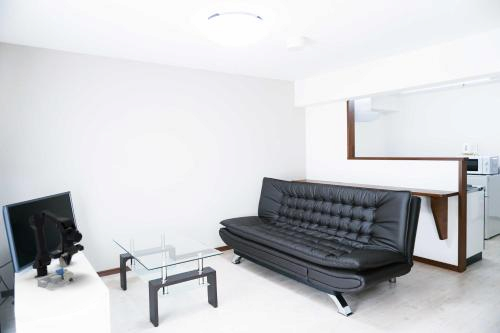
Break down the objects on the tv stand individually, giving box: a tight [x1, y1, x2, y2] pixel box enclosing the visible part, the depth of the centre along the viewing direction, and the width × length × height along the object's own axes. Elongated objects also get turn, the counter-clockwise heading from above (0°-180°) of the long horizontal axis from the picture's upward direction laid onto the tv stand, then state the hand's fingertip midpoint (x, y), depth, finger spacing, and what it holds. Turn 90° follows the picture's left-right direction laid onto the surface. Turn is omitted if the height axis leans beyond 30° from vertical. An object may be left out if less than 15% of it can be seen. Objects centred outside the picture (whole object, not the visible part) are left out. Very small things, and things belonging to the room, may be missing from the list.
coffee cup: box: [56, 243, 73, 268], centre depth 231 cm, size 9×9×15 cm
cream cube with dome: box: [62, 271, 75, 282], centre depth 205 cm, size 9×4×4 cm, turn 61°
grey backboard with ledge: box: [36, 267, 81, 292], centre depth 202 cm, size 14×18×6 cm
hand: (68, 265), depth 204 cm, fingers closed
